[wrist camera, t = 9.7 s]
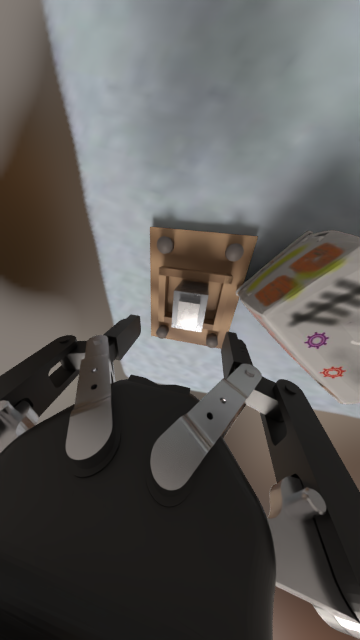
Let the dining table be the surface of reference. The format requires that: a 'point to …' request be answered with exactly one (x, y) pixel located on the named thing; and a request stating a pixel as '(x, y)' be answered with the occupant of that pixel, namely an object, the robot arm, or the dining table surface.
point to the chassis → (197, 279)
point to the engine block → (190, 305)
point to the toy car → (314, 308)
